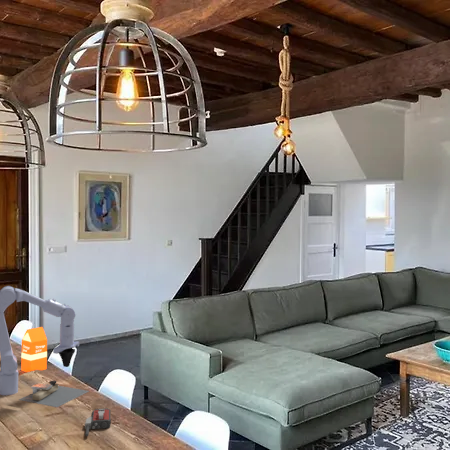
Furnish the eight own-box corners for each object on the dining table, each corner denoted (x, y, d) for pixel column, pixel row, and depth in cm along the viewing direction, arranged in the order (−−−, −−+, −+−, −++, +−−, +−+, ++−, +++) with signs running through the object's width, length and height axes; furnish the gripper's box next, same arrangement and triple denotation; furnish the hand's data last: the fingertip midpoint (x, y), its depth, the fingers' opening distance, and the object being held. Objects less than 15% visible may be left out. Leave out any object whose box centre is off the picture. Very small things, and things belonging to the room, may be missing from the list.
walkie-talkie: (86, 416, 186) (83, 439, 166) (86, 404, 186) (83, 426, 166) (110, 415, 188) (110, 437, 168) (111, 403, 188) (110, 424, 168)
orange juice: (20, 370, 239) (21, 328, 239) (37, 366, 246) (37, 325, 246) (30, 373, 235) (31, 330, 235) (47, 369, 242) (47, 327, 242)
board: (18, 402, 198) (18, 399, 198) (53, 387, 217) (53, 384, 216) (57, 409, 191) (57, 407, 191) (89, 393, 210) (89, 391, 210)
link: (51, 388, 211) (51, 380, 211) (58, 389, 210) (58, 380, 210) (32, 399, 197) (32, 391, 197) (39, 400, 197) (39, 391, 197)
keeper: (36, 391, 207) (37, 383, 207) (52, 393, 206) (52, 384, 206) (31, 395, 203) (31, 386, 203) (46, 396, 202) (47, 387, 202)
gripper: (63, 339, 207) (62, 372, 207) (85, 332, 220) (84, 363, 220) (49, 337, 209) (48, 370, 210) (72, 330, 223) (71, 361, 223)
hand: (66, 366), depth 215 cm, fingers closed
